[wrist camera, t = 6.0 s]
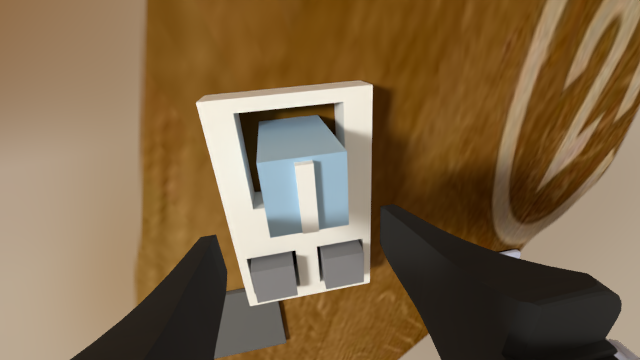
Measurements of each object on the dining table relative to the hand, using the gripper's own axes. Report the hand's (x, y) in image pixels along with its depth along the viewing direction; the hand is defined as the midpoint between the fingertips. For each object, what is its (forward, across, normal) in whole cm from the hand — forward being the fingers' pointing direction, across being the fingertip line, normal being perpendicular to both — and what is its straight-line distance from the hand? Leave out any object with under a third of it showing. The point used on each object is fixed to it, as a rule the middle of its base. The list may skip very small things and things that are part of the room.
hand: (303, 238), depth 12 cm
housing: (+9, 0, +3) cm, 9 cm away
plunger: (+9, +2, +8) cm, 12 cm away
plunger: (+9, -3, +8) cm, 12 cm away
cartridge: (+9, 0, -1) cm, 9 cm away
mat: (+9, +7, +15) cm, 19 cm away
